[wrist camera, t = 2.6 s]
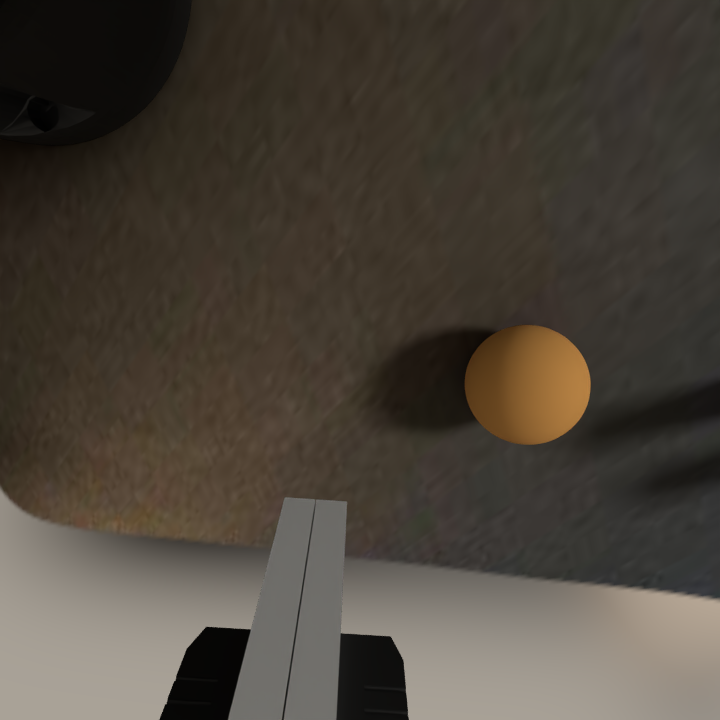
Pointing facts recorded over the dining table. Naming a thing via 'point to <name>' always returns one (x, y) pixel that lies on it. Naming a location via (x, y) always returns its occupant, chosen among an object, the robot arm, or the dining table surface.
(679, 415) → the dining table surface
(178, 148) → the dining table surface
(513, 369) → the ball
